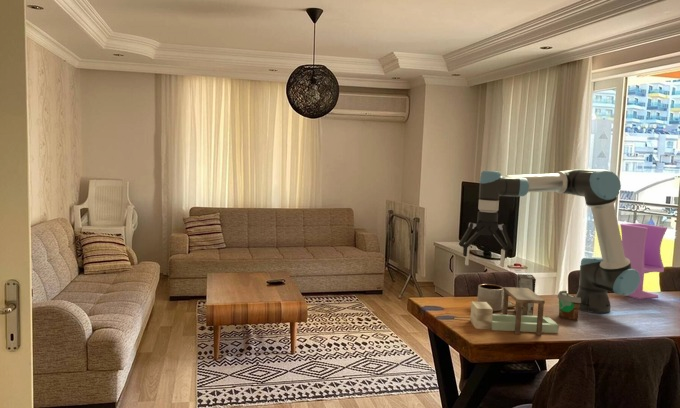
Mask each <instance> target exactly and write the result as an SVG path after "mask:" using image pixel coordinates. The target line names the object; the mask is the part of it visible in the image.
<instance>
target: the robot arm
mask: <svg viewBox="0 0 680 408" xmlns="http://www.w3.org/2000/svg"><path fill="white" fill-rule="evenodd" d="M621 186H622V184H621V181H620V178H619V176H618V175H617V174H616V173H615V172H613V171H611V170H609V169H608V170H607V169H602V168H595V169H594V168H576V169H570V170H558V171H556V172H555V173H537V174H536V173H535V174H534V173H531V174H527V173H526V174H507V175H506V174H505V175H504V174H501V171H497V170H496V171H495V170H482V171H481V172H480V178H479V189H478V190H479V191H478V207H477V209H478V210H479V211H477V220H476V223H474V222H468V226H467V229H466V231H465V232H464V234H463V236H462V237H461V239H460V241H459V243H458V245H459V246H460V247H462V249H463V250H462V255H463V257H464V259H465V261H464V264H465V266H469V264H470V263H469V262H470V261H469V259H470V248H469V247H470V245H472V244H473V243H474V241H476V240H477V238H478V237H479V236H481V235H482V236H493V237H494V238H495V239H496V241H497V242H498V243H499V244H500V245H499V246H501V247H502V248H501V250H500V260H499V261H500V263H499V266H500V267H501V268H504V267H505V259H507V258H508V252H509V250H512V249H513V248H514V246H513V244H512V241H511V239H510V237H509V234H508V232H507V226H506V224H504V223H501V224H499V223H498V222H499V221H498V220H499V219H498V218H499V213H498V211H499V207H500V206H499V203H500V197H516V198H519V197H525V196H526V195H527V194H528V193H541V192H542V193H544V192H545V193H549V192H551V193H552V192H555V193H557V194H560V195H561V194H565V195H567V194H568V195H574V196H579V197H583V198H584V202H585V205H586V206H588V207H589V208H590V209H591V214H592V218H593V223H594V229H595V232H596V235H597V242H598V246H599V249H600V250H599V251H600V255H601V257H592V256H591V257H587V256H586V257H583V258H582V259H581V260H580V265H579V281H578V283H579V284H578V290H577V293H576V295H575V297H578V298H581V303H580V306H579V311H584V312H589V313H597V314H607V313H611V308H612V305H611V302H610V299H609V298H610V297H609V293H608V292H610V293H614V294H616V295H619V296H620V295H621V296H626V295H630V294H632V293H633V292H634V291H635V290H636V289H637V287H638V286H639V283H640V275H639V273H638V272H637V271H636V270H635V269H632V267H631V263H630V260H629V259H628V258H626V257H625V254H624V250H623V245H622V234H621V231H620V227H619V222H618V216H617V213H616V212H617V211H616V208H615V203H616V202H617V200H618V195H619V194H620V191H621V188H622V187H621ZM475 228H476V229H477V230H476V231H475V232H474V234H473V235H471V237H470V238H469V236H470V234H471V233H472V231H473V230H474V229H475ZM498 229H499V231H500V232H501V234H502V236H503V237H504V241H505V242H504V241H503V240H502V238H501V237H500V236H499V234H498V233H497V230H498ZM467 239H468V240H467ZM505 243H506V244H505Z"/></svg>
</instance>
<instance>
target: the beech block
mask: <svg viewBox="0 0 680 408" xmlns="http://www.w3.org/2000/svg"><path fill="white" fill-rule="evenodd" d="M470 303H471V304H470V316H469V317H470V319H469V320H470V322H471V324H472V325H473V327H474V328H475V329H478V330H492V315H493V314H494V313H493V312H494V311H493V309H492V308H491V306H490V305H489V304H488V303H487V302H477V301H471V302H470Z"/></svg>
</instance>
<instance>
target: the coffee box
mask: <svg viewBox="0 0 680 408" xmlns="http://www.w3.org/2000/svg"><path fill="white" fill-rule="evenodd" d="M516 277H517V278H516V279H517V280H516V288H529V289H530V290H531V291H533V292H534V293H535V294H536V280H537V279H536V277H535V276H534V275H533V274H521V273H518V274H517V276H516ZM534 306H535V303H528V311H527V315H528V316H534ZM516 307H517V302H516V301H515V308H514V309H515V311H516ZM522 311H523V303H522ZM521 315H522V312H521Z"/></svg>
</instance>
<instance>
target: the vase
mask: <svg viewBox="0 0 680 408" xmlns="http://www.w3.org/2000/svg"><path fill="white" fill-rule="evenodd" d="M667 229H668V227H667V226H666V227H665V226H662V225H661V226H659V225H653V224H646V223H645V224H644V223H620V230H621V231H620V233H621V240H622V245H623V250H624V254H625V257H626V258H628V259H629V260H630V263H631V267H632V269H635V270H636V271H637V272H638V273H639V275H640V283H639V286H638V287H637V289H636V290H635V291H634V292H633V293H632V294H630V295H625V296H626V297H629V298H633V299H637V300H645V299H646V298H647V299H654V298H659V294H656V293H652V292H650V291H649V292H648V291H645V290H643V289H644V277H645V274H649V273H664V272H665V267H664V263H663V260H662V255H661V245H662V242H663V239H664V236H665V234H666V231H667Z"/></svg>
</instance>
